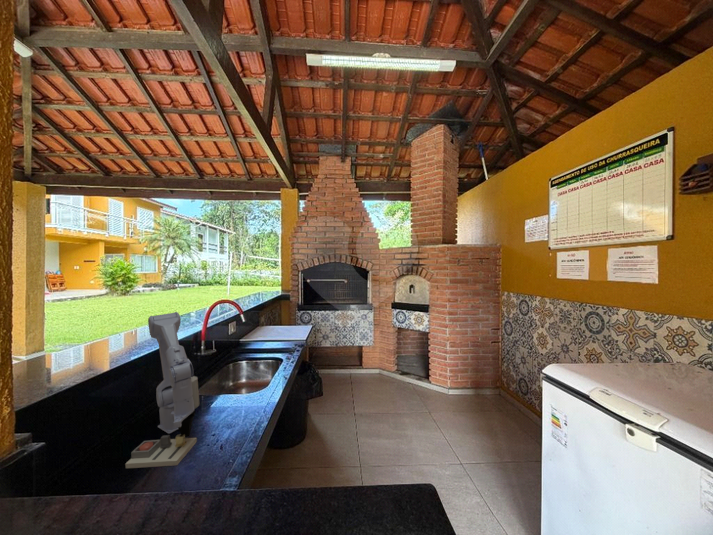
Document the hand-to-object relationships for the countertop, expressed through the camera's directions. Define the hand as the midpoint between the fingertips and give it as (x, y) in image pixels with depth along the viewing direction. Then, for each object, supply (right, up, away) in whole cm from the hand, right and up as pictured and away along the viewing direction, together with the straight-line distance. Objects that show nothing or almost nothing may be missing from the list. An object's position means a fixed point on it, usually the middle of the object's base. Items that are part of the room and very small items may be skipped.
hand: (186, 435), depth 96 cm
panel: (-5, -3, -5) cm, 7 cm away
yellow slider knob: (0, -1, -3) cm, 3 cm away
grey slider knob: (-5, -2, -3) cm, 6 cm away
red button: (-10, -2, -5) cm, 11 cm away
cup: (-14, -3, +25) cm, 29 cm away
